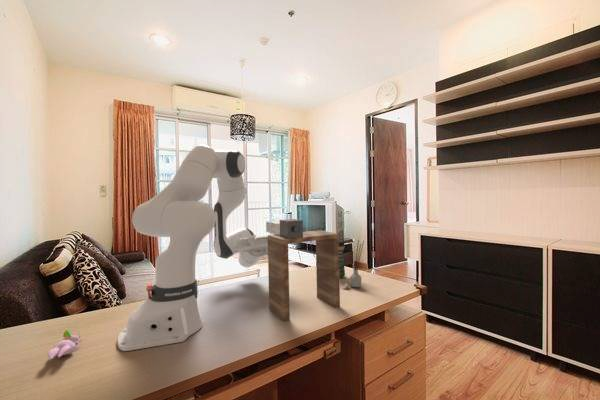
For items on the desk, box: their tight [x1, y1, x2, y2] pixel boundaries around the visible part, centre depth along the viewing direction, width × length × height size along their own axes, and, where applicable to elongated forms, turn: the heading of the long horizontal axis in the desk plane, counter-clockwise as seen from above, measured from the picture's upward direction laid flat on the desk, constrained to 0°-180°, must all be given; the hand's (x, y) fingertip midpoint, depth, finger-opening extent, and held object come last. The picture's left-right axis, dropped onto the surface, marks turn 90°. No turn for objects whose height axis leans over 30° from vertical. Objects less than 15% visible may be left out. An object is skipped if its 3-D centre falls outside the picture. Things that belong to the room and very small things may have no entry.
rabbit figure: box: [47, 328, 83, 360], centre depth 75 cm, size 6×6×15 cm
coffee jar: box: [339, 237, 346, 279], centre depth 138 cm, size 10×8×19 cm
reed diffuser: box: [343, 239, 365, 289], centre depth 121 cm, size 10×7×20 cm
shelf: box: [267, 229, 341, 322], centre depth 101 cm, size 22×12×26 cm, turn 119°
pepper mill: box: [265, 218, 304, 239], centre depth 101 cm, size 6×21×6 cm, turn 29°
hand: (265, 236), depth 115 cm, fingers open, 8 cm apart
